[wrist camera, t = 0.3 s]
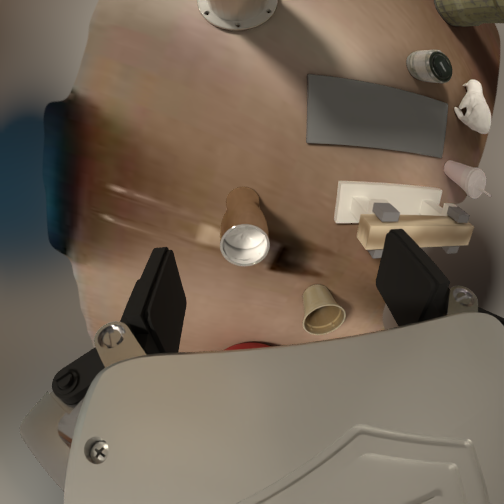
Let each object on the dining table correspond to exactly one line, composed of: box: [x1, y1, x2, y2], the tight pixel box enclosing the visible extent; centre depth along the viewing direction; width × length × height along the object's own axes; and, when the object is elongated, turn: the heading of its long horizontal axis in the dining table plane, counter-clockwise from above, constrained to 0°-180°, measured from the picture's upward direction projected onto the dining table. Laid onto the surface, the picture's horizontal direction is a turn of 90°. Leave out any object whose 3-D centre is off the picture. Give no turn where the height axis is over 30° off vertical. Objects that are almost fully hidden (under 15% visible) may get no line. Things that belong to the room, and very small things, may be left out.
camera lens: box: [406, 50, 452, 83], centre depth 30 cm, size 6×6×8 cm
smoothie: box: [444, 160, 491, 199], centre depth 39 cm, size 6×6×14 cm
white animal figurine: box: [454, 80, 491, 134], centre depth 33 cm, size 6×8×12 cm
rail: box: [357, 214, 474, 250], centre depth 39 cm, size 4×24×4 cm, turn 91°
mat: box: [306, 74, 448, 158], centre depth 40 cm, size 12×30×1 cm, turn 91°
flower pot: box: [303, 284, 346, 335], centre depth 58 cm, size 9×9×9 cm
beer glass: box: [220, 187, 270, 266], centre depth 42 cm, size 7×7×15 cm
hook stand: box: [334, 181, 469, 258], centre depth 44 cm, size 8×25×14 cm, turn 91°
